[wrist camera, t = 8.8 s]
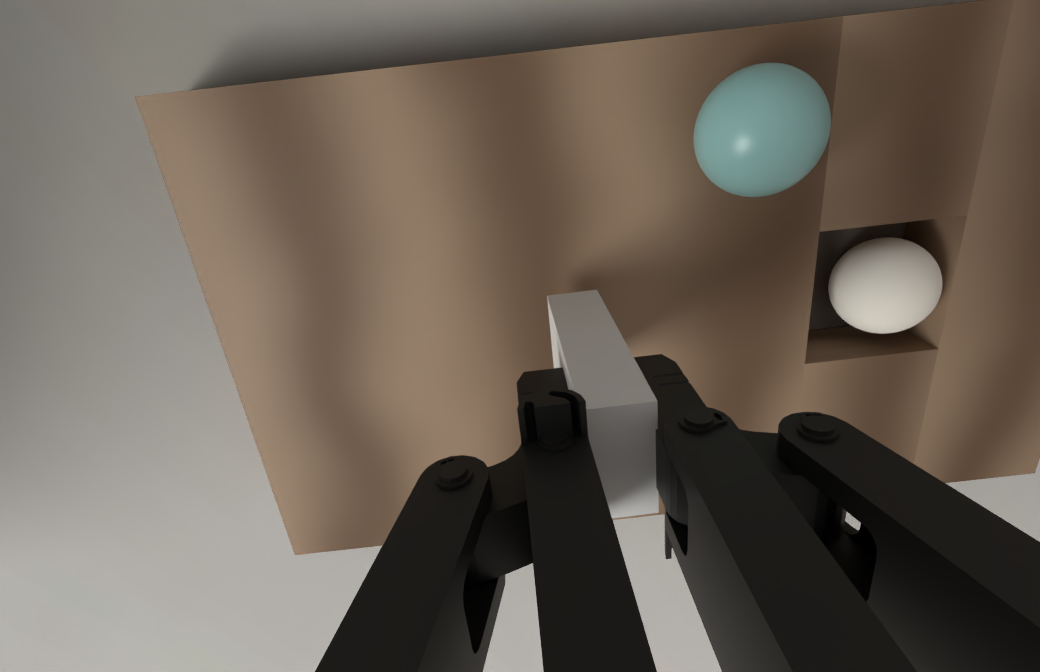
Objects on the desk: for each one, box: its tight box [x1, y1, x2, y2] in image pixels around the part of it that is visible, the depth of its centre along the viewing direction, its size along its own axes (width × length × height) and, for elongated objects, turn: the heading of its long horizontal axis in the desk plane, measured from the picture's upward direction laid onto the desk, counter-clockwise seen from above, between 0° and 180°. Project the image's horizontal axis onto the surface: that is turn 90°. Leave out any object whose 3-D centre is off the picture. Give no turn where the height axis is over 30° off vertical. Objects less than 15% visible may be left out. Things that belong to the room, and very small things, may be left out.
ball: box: [828, 237, 942, 334], centre depth 19 cm, size 3×3×3 cm
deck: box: [135, 0, 1040, 555], centre depth 19 cm, size 28×16×2 cm, turn 96°
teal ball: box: [693, 63, 831, 197], centre depth 14 cm, size 3×3×3 cm
